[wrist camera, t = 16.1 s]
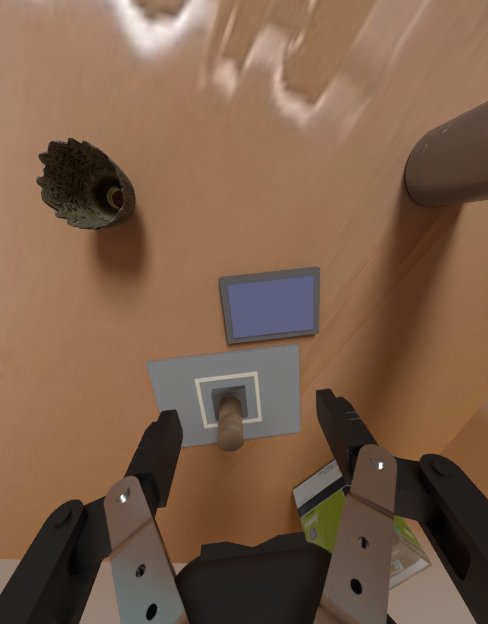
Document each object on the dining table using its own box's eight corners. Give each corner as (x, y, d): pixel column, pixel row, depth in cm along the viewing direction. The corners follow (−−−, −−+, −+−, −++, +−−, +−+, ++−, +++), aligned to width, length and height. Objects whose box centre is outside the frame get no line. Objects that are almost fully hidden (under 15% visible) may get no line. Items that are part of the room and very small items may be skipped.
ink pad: (316, 266, 32) (320, 268, 31) (315, 330, 36) (319, 334, 34) (219, 277, 32) (219, 279, 31) (227, 340, 35) (227, 344, 34)
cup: (140, 240, 30) (110, 243, 22) (82, 215, 28) (29, 208, 21) (158, 182, 28) (131, 163, 20) (96, 152, 26) (42, 119, 19)
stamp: (244, 385, 37) (249, 423, 30) (247, 411, 39) (252, 453, 32) (212, 389, 37) (207, 428, 30) (216, 415, 39) (213, 458, 32)
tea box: (320, 508, 50) (355, 613, 36) (291, 488, 47) (316, 594, 33) (375, 470, 47) (436, 570, 33) (347, 447, 45) (401, 544, 31)
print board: (297, 343, 36) (298, 346, 35) (299, 429, 42) (300, 433, 41) (147, 361, 36) (145, 364, 35) (170, 446, 41) (169, 449, 41)
